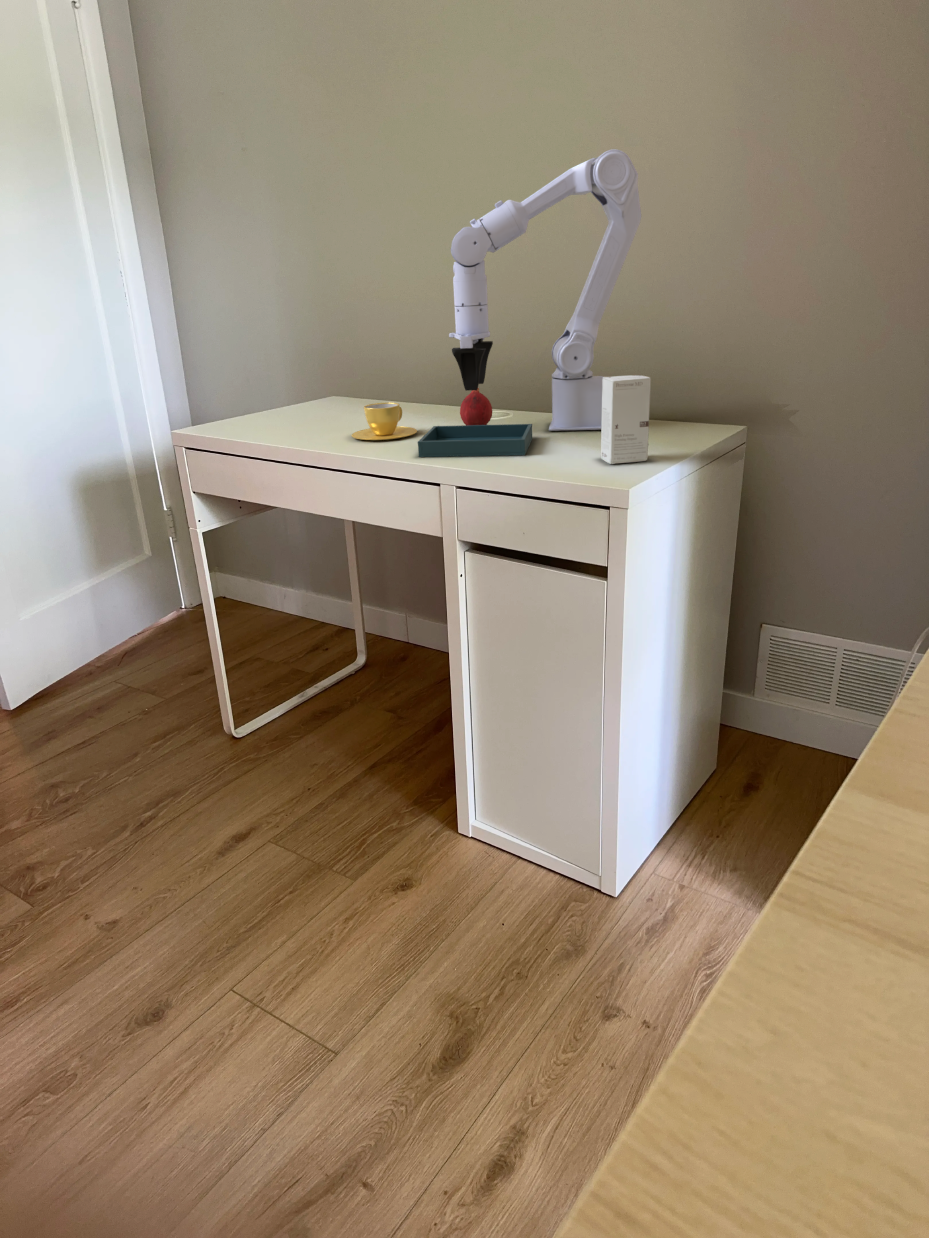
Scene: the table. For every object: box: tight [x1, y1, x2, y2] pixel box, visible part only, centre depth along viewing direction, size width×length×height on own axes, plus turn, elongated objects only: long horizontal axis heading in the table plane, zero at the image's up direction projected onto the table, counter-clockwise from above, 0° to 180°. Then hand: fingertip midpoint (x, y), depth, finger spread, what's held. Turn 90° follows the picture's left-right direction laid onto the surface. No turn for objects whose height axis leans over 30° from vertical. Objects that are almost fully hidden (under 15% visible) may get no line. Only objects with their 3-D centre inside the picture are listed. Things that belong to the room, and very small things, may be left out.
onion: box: [459, 387, 493, 425], centre depth 152 cm, size 6×6×8 cm
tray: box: [417, 423, 533, 458], centre depth 141 cm, size 17×13×2 cm
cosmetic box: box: [600, 374, 652, 465], centre depth 125 cm, size 6×4×12 cm
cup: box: [351, 402, 418, 441], centre depth 155 cm, size 12×12×5 cm
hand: (474, 387), depth 151 cm, fingers open, 7 cm apart
